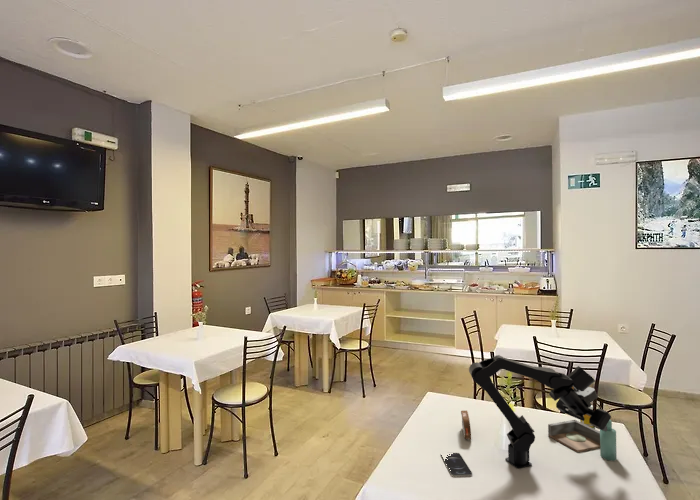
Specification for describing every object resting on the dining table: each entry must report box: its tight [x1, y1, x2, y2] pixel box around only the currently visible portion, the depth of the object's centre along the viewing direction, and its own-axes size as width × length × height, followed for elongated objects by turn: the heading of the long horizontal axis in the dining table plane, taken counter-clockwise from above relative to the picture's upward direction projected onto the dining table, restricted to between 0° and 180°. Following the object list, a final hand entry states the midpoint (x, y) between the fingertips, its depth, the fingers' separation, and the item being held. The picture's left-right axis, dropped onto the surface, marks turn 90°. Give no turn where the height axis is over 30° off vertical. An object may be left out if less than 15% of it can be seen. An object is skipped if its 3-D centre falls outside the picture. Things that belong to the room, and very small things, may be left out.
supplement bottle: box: [579, 405, 596, 430], centre depth 167 cm, size 5×5×10 cm
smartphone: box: [440, 452, 473, 478], centre depth 139 cm, size 8×1×15 cm
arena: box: [547, 419, 600, 453], centre depth 155 cm, size 14×14×5 cm
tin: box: [460, 410, 472, 440], centre depth 162 cm, size 15×3×8 cm, turn 168°
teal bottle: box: [599, 419, 618, 462], centre depth 143 cm, size 5×5×14 cm
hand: (594, 424), depth 141 cm, fingers open, 9 cm apart
